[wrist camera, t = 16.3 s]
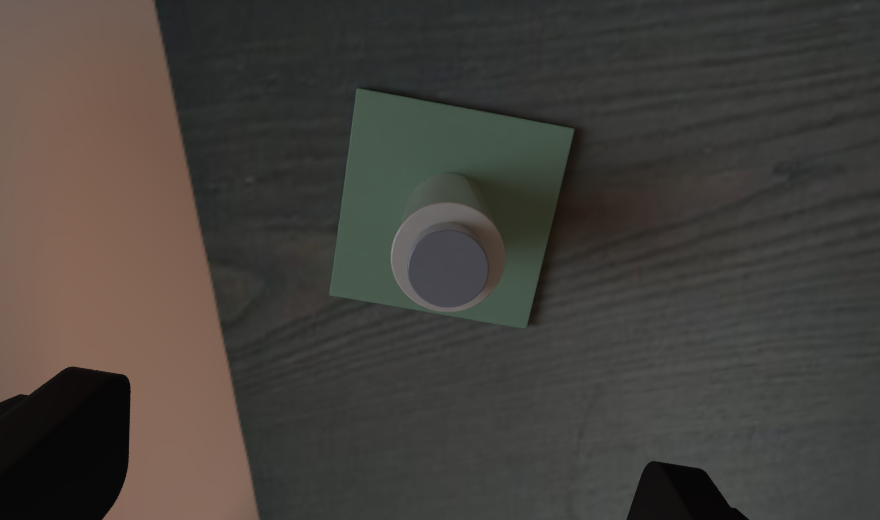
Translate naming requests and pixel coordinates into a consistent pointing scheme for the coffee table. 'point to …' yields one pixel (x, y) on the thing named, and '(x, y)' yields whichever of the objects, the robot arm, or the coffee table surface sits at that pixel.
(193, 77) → the coffee table surface
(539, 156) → the mat
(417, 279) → the spice bottle
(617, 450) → the coffee table surface
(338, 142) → the coffee table surface
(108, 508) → the robot arm
